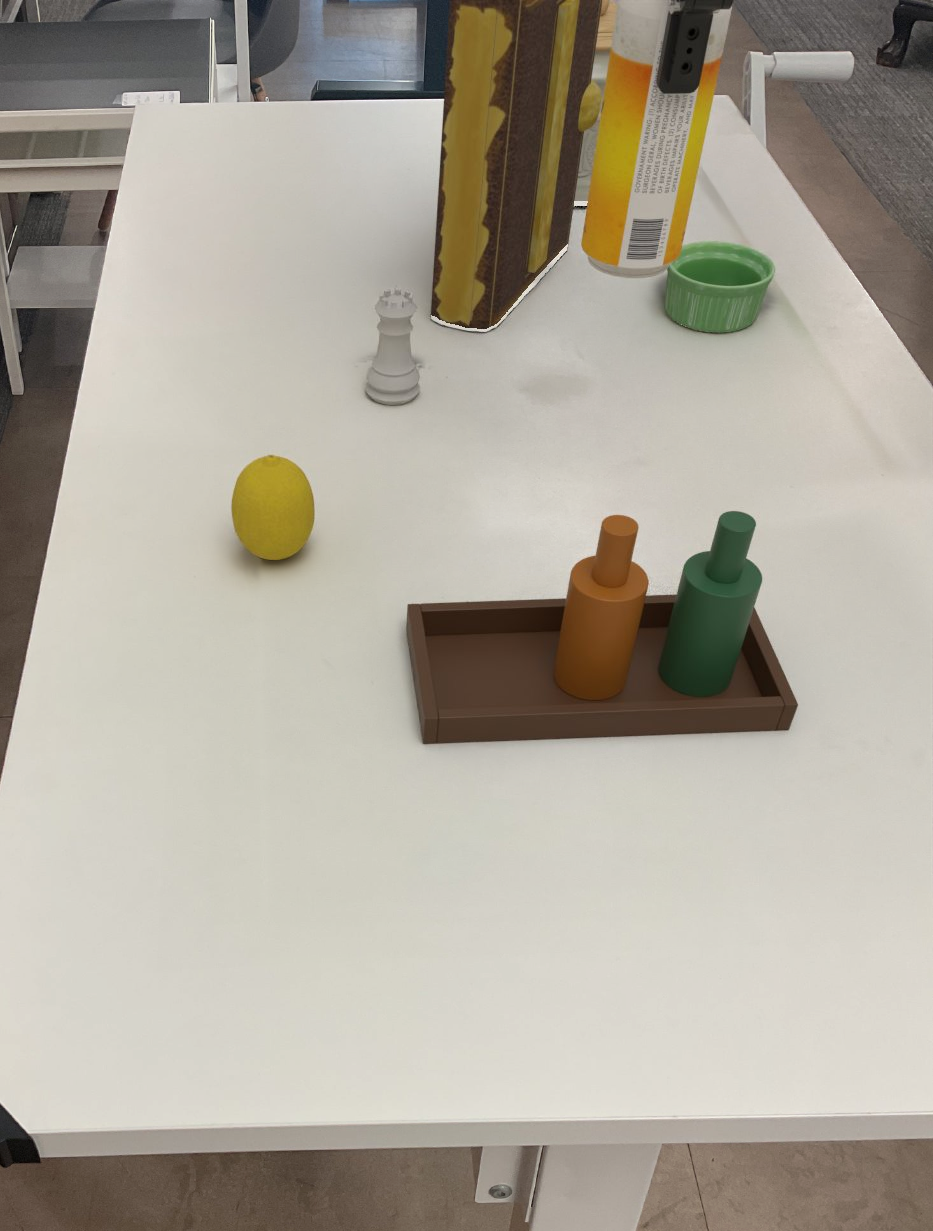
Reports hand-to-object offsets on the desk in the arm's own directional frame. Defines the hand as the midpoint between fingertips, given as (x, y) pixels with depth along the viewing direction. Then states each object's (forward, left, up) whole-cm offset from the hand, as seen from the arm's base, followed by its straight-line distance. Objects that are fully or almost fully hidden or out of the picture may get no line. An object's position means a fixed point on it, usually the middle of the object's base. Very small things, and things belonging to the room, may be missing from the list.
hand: (662, 69), depth 70 cm
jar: (-9, -57, -28) cm, 64 cm away
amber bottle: (+4, +20, -27) cm, 34 cm away
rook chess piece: (+13, -16, -28) cm, 35 cm away
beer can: (0, 0, -11) cm, 11 cm away
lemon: (+23, +6, -28) cm, 37 cm away
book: (+1, -36, -28) cm, 46 cm away
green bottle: (-3, +20, -27) cm, 34 cm away
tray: (+4, +20, -28) cm, 35 cm away
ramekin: (-16, -28, -28) cm, 43 cm away
